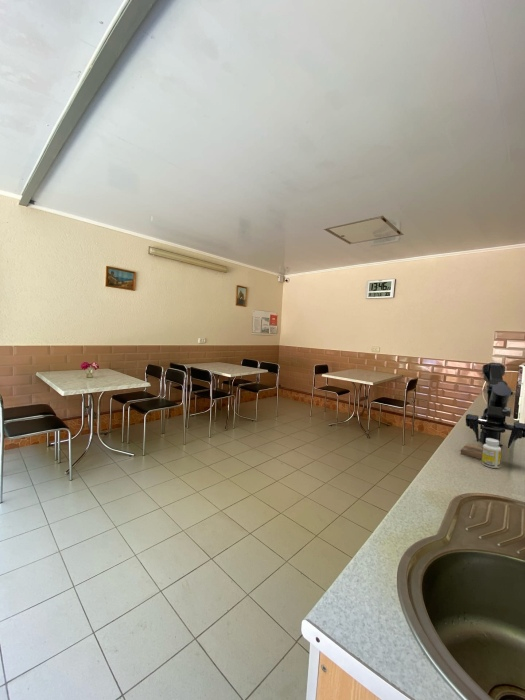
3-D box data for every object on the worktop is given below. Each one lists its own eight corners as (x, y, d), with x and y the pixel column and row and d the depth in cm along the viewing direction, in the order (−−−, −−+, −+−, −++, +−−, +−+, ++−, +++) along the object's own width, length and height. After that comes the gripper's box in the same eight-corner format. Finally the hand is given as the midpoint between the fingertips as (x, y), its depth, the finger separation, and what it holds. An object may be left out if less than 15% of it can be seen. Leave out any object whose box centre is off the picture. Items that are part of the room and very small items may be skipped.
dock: (466, 447, 129) (467, 443, 128) (489, 453, 123) (490, 448, 123) (460, 453, 122) (461, 449, 122) (484, 460, 116) (485, 455, 116)
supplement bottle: (493, 462, 114) (495, 437, 114) (503, 469, 109) (505, 443, 108) (478, 461, 115) (480, 436, 114) (487, 468, 110) (489, 442, 109)
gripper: (468, 394, 121) (461, 426, 113) (529, 402, 108) (527, 440, 101) (469, 409, 127) (463, 441, 119) (527, 419, 115) (525, 455, 107)
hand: (492, 444), depth 111 cm, fingers open, 9 cm apart
